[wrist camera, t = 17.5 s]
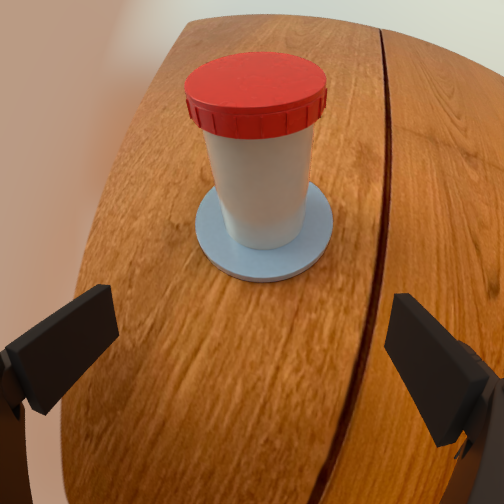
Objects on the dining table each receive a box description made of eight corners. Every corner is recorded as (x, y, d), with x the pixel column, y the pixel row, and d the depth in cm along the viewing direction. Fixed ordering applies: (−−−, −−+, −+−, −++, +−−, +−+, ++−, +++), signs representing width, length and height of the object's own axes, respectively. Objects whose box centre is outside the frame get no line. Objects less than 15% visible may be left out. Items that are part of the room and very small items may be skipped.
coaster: (172, 254, 23) (170, 249, 22) (232, 163, 28) (231, 157, 27) (307, 303, 20) (308, 299, 19) (344, 193, 25) (346, 186, 24)
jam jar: (209, 235, 23) (170, 104, 13) (243, 178, 26) (228, 57, 16) (288, 261, 21) (297, 122, 11) (314, 198, 24) (328, 69, 14)
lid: (163, 129, 14) (154, 100, 12) (227, 71, 17) (224, 48, 16) (303, 155, 12) (305, 120, 10) (336, 87, 15) (338, 61, 14)
